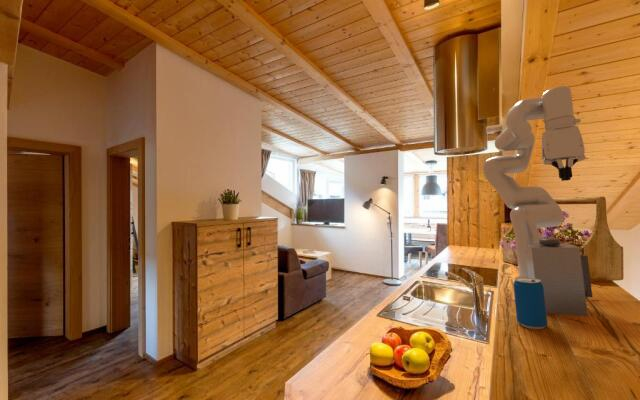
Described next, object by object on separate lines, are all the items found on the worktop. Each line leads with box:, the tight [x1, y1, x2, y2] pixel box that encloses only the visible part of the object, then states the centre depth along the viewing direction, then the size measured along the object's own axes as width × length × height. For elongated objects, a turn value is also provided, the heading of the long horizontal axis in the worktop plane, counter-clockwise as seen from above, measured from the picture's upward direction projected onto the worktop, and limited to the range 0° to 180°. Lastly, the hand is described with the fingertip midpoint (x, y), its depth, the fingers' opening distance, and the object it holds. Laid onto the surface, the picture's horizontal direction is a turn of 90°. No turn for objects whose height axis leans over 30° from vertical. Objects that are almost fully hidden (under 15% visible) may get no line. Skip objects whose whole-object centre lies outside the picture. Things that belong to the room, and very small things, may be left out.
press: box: [525, 242, 593, 317], centre depth 85 cm, size 11×14×19 cm
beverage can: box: [512, 276, 548, 330], centre depth 74 cm, size 6×6×12 cm
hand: (566, 180), depth 92 cm, fingers closed
